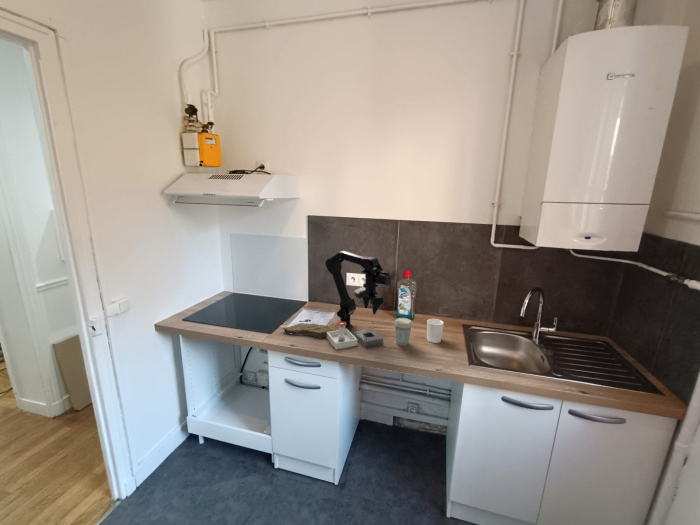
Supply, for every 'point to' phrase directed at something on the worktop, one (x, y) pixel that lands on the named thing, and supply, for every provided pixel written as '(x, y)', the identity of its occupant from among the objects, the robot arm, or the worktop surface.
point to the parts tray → (349, 342)
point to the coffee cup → (402, 331)
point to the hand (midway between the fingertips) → (369, 311)
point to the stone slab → (309, 329)
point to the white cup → (434, 330)
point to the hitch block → (368, 338)
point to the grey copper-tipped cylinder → (341, 331)
